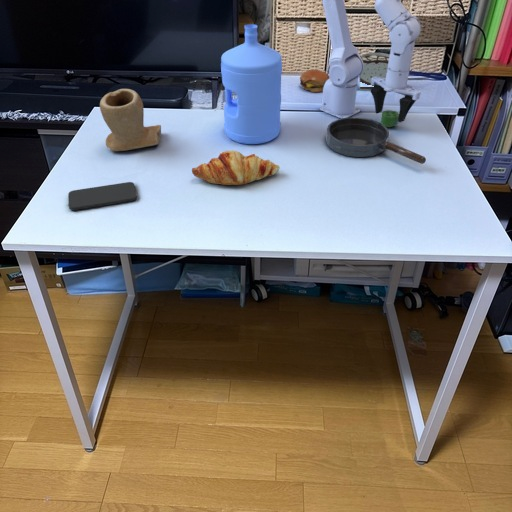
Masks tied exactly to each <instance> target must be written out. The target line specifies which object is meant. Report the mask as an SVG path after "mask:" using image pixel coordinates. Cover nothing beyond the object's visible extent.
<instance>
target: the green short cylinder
mask: <svg viewBox="0 0 512 512" xmlns="http://www.w3.org/2000/svg"><path fill="white" fill-rule="evenodd" d="M398 117H399V112H398V111H396V110H392V109H391V110H389V109H387V110H382V112H381V117H380V123H381V124H382V125H384V126H385V127H386V128H393V127H395V126H398V123H399V122H398Z"/></svg>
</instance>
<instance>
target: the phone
mask: <svg viewBox="0 0 512 512" xmlns="http://www.w3.org/2000/svg"><path fill="white" fill-rule="evenodd" d="M67 197H68V199H67V200H68V208H69V210H70V211H78V210H84V209H90V208H91V209H92V208H97V207H103V206H109V205H115V204H121V203H122V204H123V203H128V202H134V201H136V200H137V198H138V195H137V191H136V187H135V183H134V182H133V181H126V182H120V183H114V184H113V183H112V184H106V185H101V186H93V187H87V188H80V189H73V190H70V191H69V192H68V196H67Z"/></svg>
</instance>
